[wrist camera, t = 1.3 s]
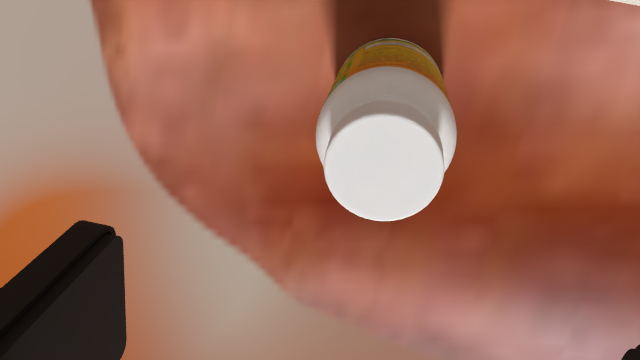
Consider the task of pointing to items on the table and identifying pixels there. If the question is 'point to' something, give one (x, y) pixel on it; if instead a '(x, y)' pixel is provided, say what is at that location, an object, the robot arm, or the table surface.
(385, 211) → the supplement bottle
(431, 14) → the table surface
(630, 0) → the frame
